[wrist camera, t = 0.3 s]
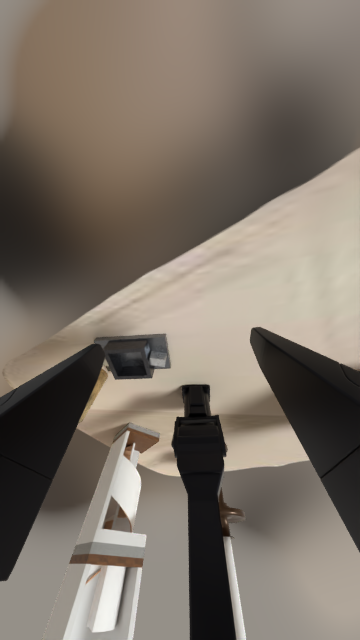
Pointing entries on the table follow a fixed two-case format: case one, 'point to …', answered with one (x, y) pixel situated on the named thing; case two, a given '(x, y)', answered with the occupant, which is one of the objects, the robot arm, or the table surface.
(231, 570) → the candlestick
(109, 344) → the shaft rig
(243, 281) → the table surface
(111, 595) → the white banded pillar
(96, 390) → the gold perfume bottle
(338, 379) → the robot arm
